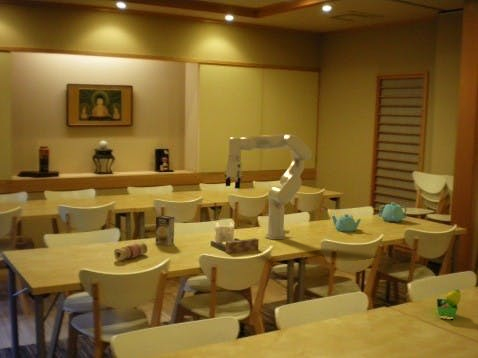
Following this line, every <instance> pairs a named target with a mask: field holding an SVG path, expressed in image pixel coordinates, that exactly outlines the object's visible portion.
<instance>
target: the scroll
mask: <svg viewBox="0 0 478 358" xmlns="http://www.w3.org/2000/svg"><path fill="white" fill-rule="evenodd" d="M147 253H148V246H147V244H146V243H145V242H139V243H134V244H130V245H129V244H128V245H126V246H125V247H124V246H122V247H121V248H115V249H114V250H113V255H114V258H115V260H116V261H118V262H120V261H122V260H134V259H136V258H137V257H138V256H139V257H140V255H145V254H147Z"/></svg>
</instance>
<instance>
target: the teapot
mask: <svg viewBox="0 0 478 358" xmlns="http://www.w3.org/2000/svg"><path fill="white" fill-rule="evenodd" d="M331 217H332V222H333V224H334V225H333V226H335V229H336V230H337V231H338V232H343V233H352V232H355V231H356V230H357V229H358V228H359V227H358V226H359V224H360V222H361V221H362V219H360V218H358V219H357V220H356V221H355V219H354V217H353V215H351V214H348V213H345V214H344V215H340V216H339V217H338V219H337V218H336V216H335V215H332V216H331Z"/></svg>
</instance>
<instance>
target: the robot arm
mask: <svg viewBox="0 0 478 358" xmlns="http://www.w3.org/2000/svg"><path fill="white" fill-rule="evenodd" d="M255 149H261V150H278V149H290V155H291V162H290V165H289V166H288V168H287V170H285V172H284V173H283V174H282V175H281V178H280V179H279V184H280V185H281V186H282V187H281V186H276V185H275V186H272V187H271V188H270V189H269V191H268V192H267V200H268V221H267V222H268V223H267V224H268V225H267V233H266V234H265V238H266V239H268V240H284V239H286V237H287V236H286V235H288V234H290V233H291V232H290V230H285V229H284V227H285V225H284V224H285V205H287V204H288V203H289V202H291V201H292V199H293V198H294V197H295V196H296V194H297V193H298V192H299V190H300V188H302V183H303V182H302V178H301V175H302V173H303V171H304V170H305V161H309V160H310V159H311V157H312V150H311V149H310V147H309V146H308V145H307V144H305V143H304V142H303V141H302V139H300V137H298V136H297V135H294V134H289V133H282V134H269V135H267V134H266V135H255V136H253V135H252V136H243V137H242V136H241V137H236V136H235V137H230V138H229V141H228V156H227V165H226V170H225V171H224V172H223V173H224V177H225V178H224V179H225V187H231V184H232V183H231V182H232V181H231V180H232V179H234V180H235V182H234V189H240V188H241V182H242V180H243V177H244V174H243V170H242V169H243V167H242V150H243V151H248V152H251V151H253V150H255Z"/></svg>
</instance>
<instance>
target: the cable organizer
mask: <svg viewBox="0 0 478 358" xmlns="http://www.w3.org/2000/svg"><path fill="white" fill-rule="evenodd" d="M234 232H235V227H234V224H233V222H229V225H220V222H215V223H214V240H215V241H214V242H217V243H219V244H221V243H224V242H225V243H226V242H229V241H234V235H235V233H234Z"/></svg>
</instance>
